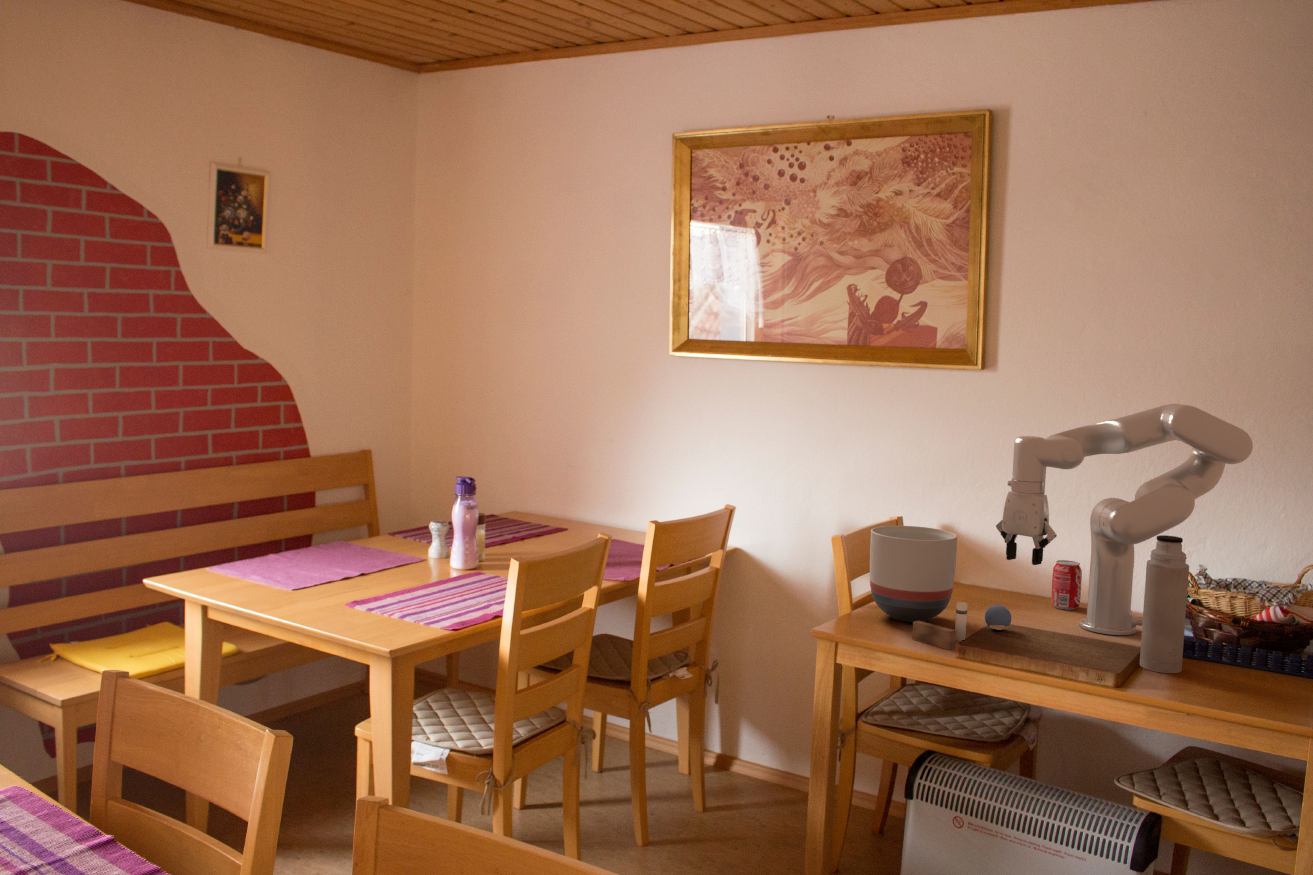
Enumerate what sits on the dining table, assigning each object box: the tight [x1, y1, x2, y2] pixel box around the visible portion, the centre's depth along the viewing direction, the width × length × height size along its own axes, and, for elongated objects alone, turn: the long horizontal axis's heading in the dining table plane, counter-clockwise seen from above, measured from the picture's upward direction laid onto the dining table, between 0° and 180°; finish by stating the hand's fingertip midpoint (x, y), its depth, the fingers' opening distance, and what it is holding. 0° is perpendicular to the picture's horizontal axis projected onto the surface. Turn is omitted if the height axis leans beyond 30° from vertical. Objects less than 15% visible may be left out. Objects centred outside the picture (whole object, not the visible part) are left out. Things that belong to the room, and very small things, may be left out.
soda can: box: [1050, 559, 1083, 611], centre depth 266 cm, size 7×7×12 cm
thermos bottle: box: [1139, 534, 1190, 674], centre depth 214 cm, size 8×8×28 cm
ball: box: [984, 604, 1012, 627], centre depth 241 cm, size 6×6×6 cm
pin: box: [954, 601, 968, 642], centre depth 232 cm, size 2×2×8 cm
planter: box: [869, 525, 958, 623], centre depth 249 cm, size 20×20×21 cm
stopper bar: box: [911, 621, 956, 651], centre depth 228 cm, size 10×2×4 cm, turn 39°
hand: (1023, 561), depth 246 cm, fingers open, 6 cm apart
